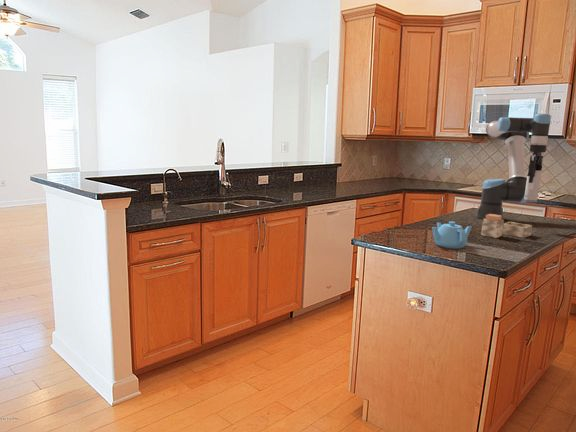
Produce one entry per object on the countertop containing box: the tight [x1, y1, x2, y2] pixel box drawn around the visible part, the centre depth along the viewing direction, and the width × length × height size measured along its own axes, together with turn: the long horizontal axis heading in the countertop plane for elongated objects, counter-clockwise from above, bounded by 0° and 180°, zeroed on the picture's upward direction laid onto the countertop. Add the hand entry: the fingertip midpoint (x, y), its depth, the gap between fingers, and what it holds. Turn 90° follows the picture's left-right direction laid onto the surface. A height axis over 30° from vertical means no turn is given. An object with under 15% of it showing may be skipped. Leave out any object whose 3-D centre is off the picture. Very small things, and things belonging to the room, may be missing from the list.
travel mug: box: [524, 164, 543, 203], centre depth 244 cm, size 6×7×20 cm
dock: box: [480, 219, 533, 239], centre depth 231 cm, size 16×22×8 cm
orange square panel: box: [485, 214, 502, 222], centre depth 228 cm, size 6×6×3 cm
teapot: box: [431, 220, 473, 250], centre depth 206 cm, size 15×15×11 cm
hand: (532, 188), depth 245 cm, fingers closed on travel mug, 6 cm apart
